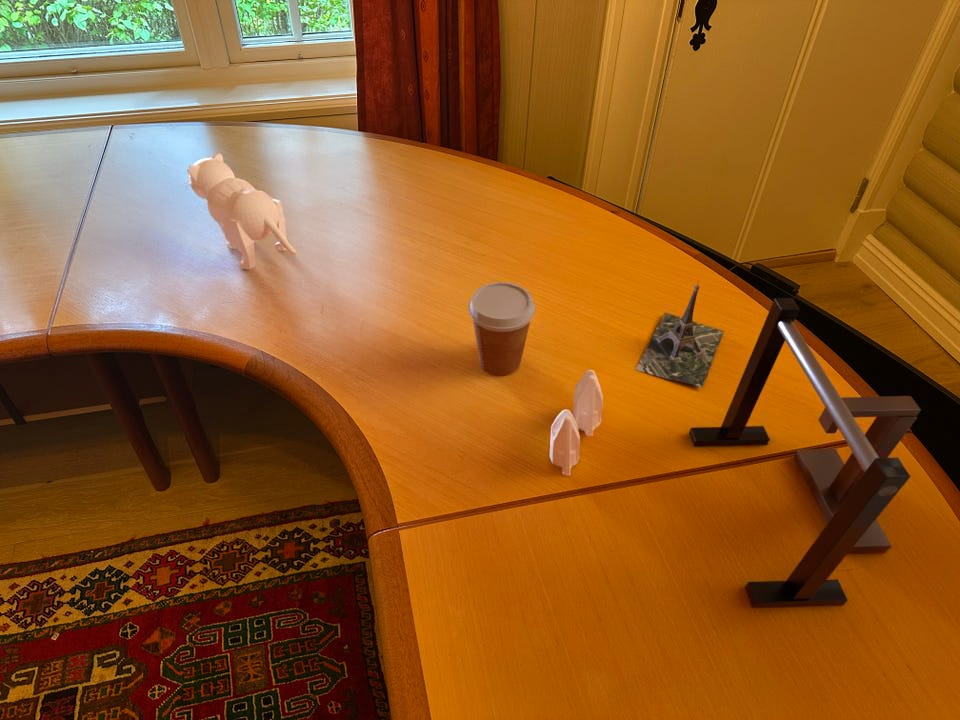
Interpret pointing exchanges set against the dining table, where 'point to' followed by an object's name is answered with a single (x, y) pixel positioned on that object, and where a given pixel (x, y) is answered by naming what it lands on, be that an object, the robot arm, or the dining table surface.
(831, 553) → the rack
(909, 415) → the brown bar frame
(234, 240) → the cat figurine
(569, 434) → the shaker set
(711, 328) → the eiffel tower figurine
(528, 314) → the disposable coffee cup
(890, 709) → the dining table surface
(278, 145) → the dining table surface
